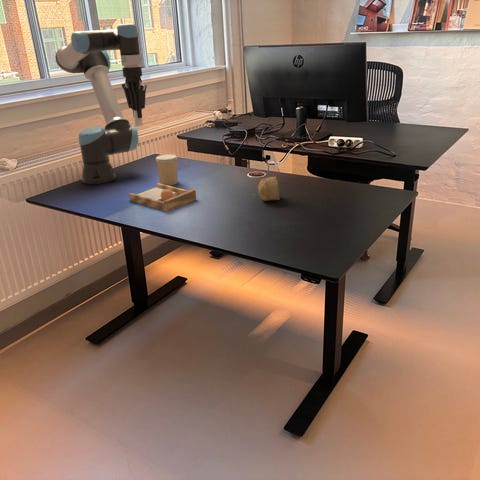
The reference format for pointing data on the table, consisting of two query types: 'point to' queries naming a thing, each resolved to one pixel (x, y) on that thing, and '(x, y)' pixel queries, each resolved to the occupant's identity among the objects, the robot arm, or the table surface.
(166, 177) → the coffee cup
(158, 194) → the mat
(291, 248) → the table surface
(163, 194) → the ball
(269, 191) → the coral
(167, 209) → the lane frame
